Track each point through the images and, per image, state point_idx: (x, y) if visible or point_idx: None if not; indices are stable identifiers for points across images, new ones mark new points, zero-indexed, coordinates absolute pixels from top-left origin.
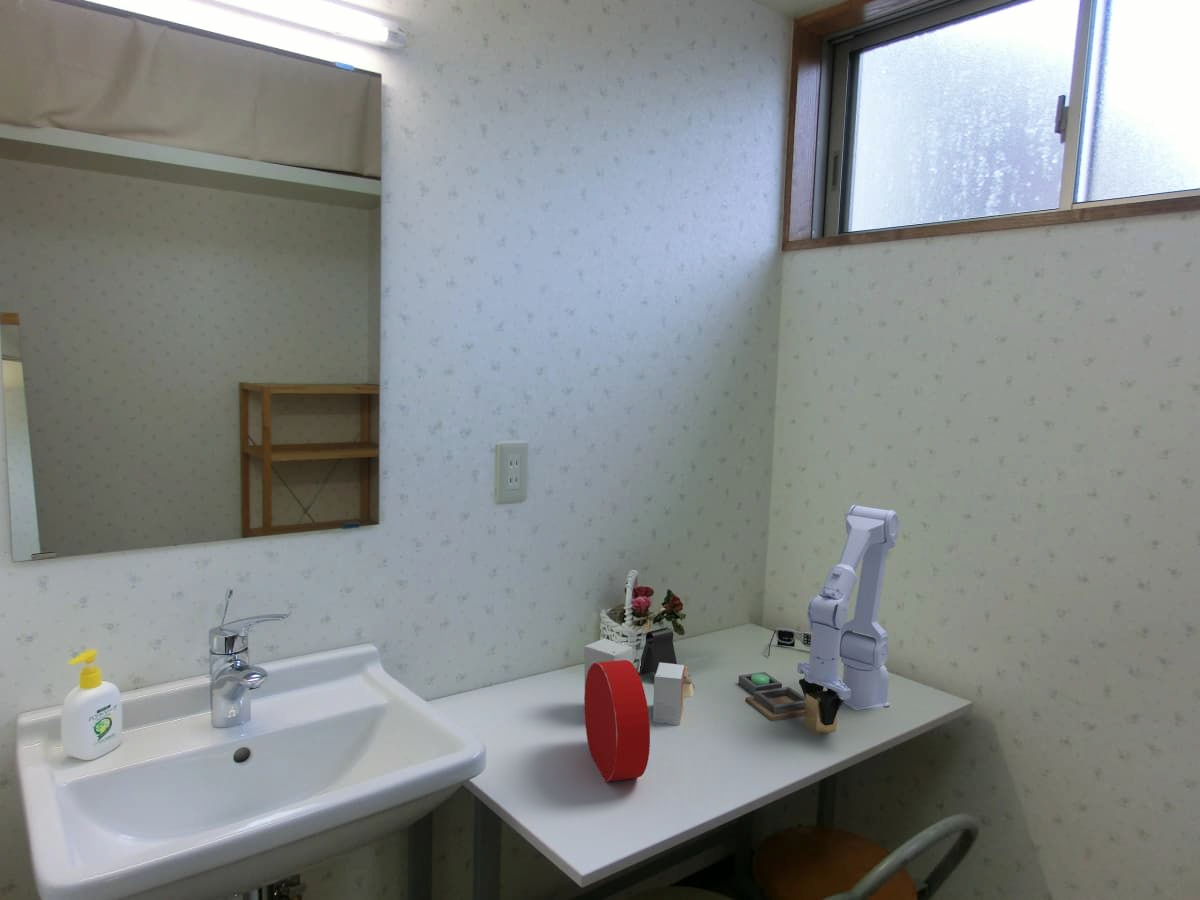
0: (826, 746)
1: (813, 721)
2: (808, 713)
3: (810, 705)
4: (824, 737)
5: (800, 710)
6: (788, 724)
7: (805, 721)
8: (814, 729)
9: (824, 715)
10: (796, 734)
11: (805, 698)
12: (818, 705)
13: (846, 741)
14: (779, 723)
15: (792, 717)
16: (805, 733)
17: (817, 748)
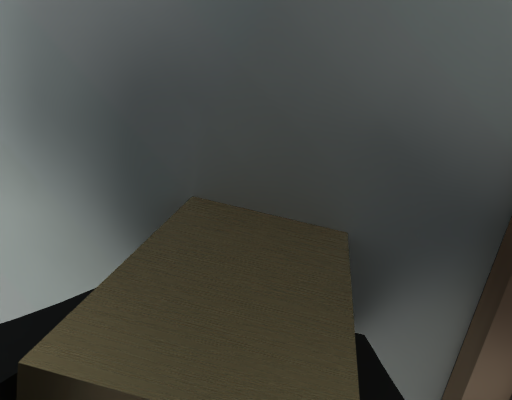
0: (20, 112)
1: (208, 237)
2: (285, 277)
3: (238, 323)
4: (129, 212)
5: (508, 380)
6: (440, 137)
7: (327, 244)
8: (204, 210)
9: (62, 303)
10: (268, 52)
11: (356, 387)
12: (61, 331)
13: (27, 291)
14: (507, 76)
15: (499, 260)
16: (243, 136)
17: (19, 21)
